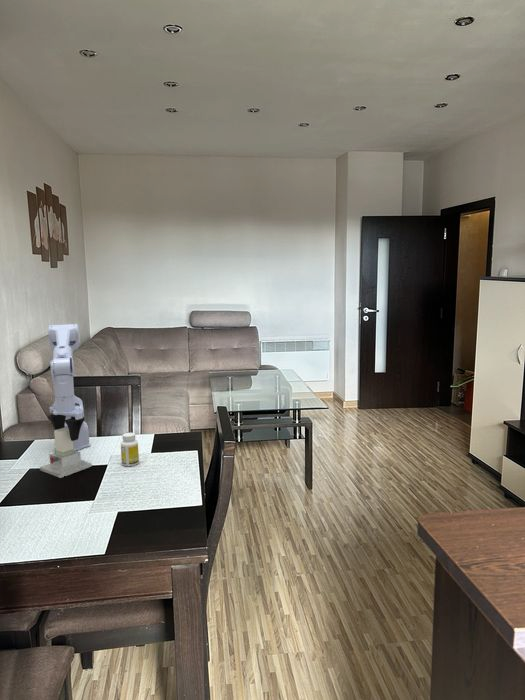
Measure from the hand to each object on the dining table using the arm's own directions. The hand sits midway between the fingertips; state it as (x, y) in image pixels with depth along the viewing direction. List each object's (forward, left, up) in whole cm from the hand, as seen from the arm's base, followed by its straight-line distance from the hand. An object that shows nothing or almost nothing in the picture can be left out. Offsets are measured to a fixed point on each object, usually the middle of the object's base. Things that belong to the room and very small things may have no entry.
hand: (67, 437), depth 156 cm
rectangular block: (+1, 0, -6) cm, 6 cm away
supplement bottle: (-13, +14, -10) cm, 21 cm away
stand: (+1, 0, -10) cm, 10 cm away
